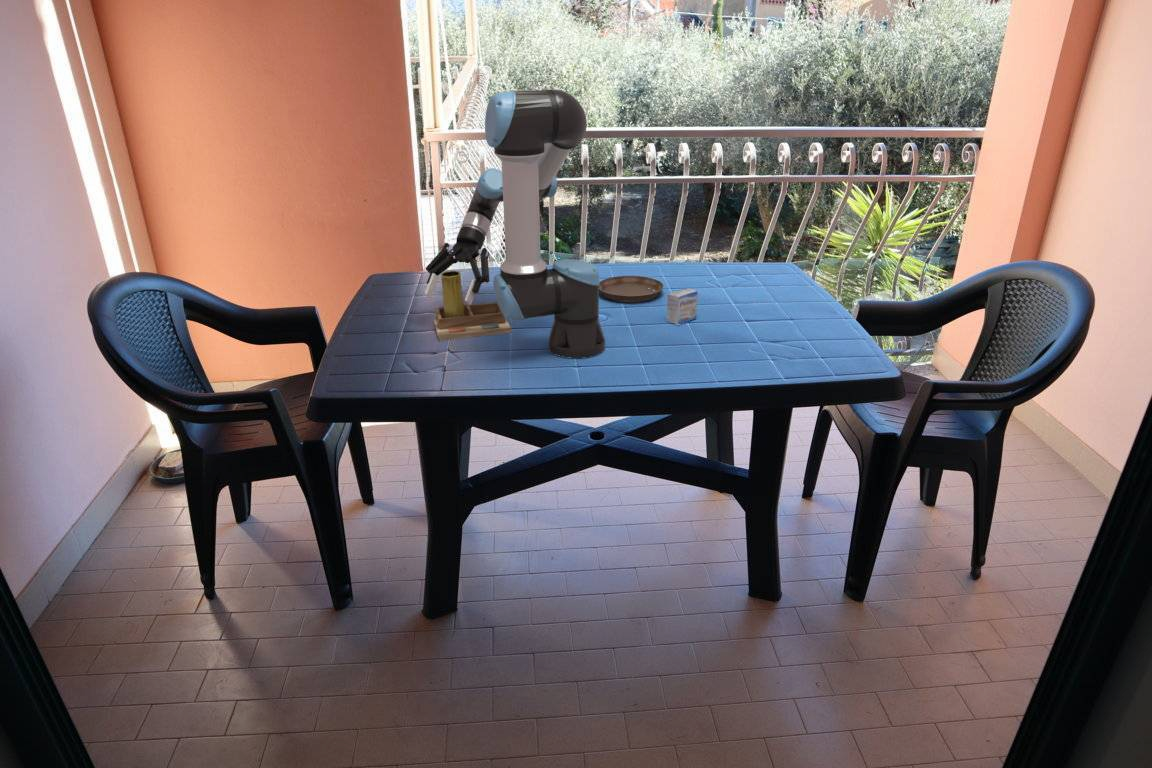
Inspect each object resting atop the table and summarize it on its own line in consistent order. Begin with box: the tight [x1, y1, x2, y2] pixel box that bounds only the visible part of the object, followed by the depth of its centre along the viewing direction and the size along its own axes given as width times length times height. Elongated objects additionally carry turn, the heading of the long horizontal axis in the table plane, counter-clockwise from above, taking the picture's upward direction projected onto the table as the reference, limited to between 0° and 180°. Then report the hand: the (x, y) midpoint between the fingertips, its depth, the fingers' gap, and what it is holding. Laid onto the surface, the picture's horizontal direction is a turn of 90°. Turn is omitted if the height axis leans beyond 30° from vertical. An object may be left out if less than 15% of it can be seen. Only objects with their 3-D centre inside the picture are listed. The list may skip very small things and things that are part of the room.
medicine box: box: [666, 287, 699, 325], centre depth 224 cm, size 8×4×9 cm, turn 129°
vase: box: [440, 270, 465, 318], centre depth 219 cm, size 6×6×14 cm
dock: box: [433, 301, 512, 341], centre depth 221 cm, size 14×20×4 cm
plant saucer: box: [599, 275, 665, 303], centre depth 246 cm, size 21×21×3 cm
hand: (447, 299), depth 217 cm, fingers open, 12 cm apart
